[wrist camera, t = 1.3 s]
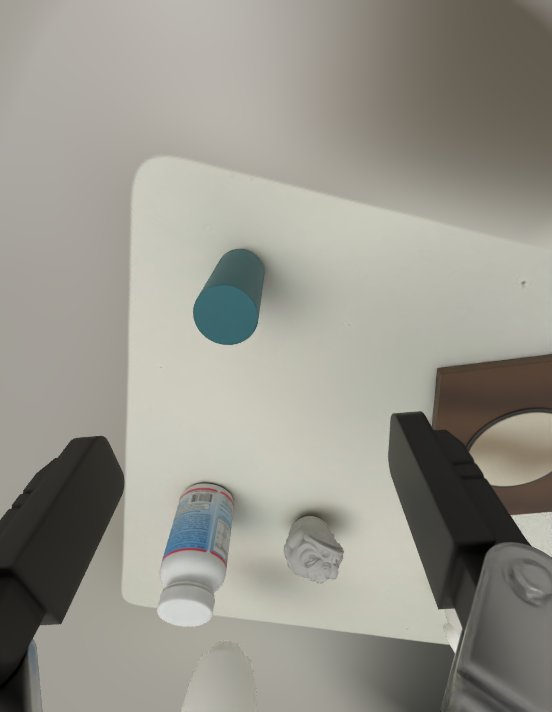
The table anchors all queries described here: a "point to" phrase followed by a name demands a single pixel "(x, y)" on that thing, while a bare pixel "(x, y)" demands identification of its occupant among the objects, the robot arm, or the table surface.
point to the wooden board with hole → (503, 425)
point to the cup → (222, 682)
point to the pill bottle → (196, 555)
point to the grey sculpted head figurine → (313, 550)
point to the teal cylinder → (231, 299)
